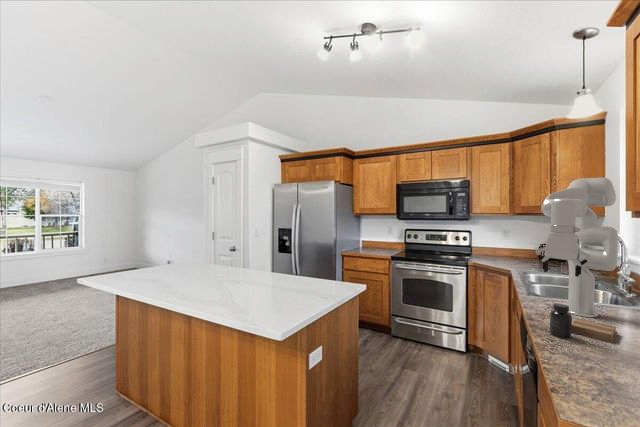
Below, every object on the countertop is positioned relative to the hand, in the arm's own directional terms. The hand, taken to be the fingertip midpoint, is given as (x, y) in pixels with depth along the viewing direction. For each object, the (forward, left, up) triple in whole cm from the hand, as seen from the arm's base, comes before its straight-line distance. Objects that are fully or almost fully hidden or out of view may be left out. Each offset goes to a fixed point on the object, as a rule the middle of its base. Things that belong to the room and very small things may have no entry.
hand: (561, 273), depth 117 cm
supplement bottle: (-2, 0, -25) cm, 25 cm away
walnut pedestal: (-15, +8, -25) cm, 30 cm away
